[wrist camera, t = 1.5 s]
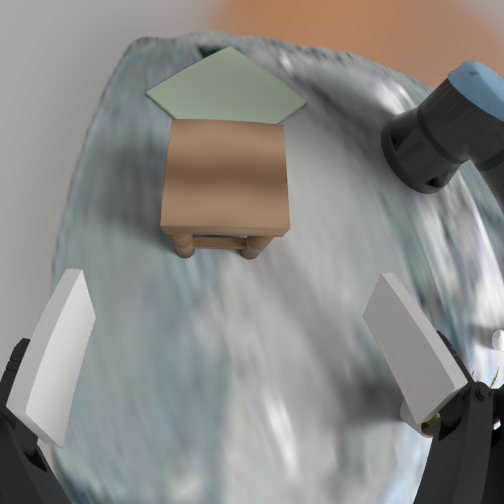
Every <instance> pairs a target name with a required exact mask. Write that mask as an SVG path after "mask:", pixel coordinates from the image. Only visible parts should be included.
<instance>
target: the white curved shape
mask: <svg viewBox="0 0 504 504" xmlns="http://www.w3.org/2000/svg"><path fill="white" fill-rule="evenodd" d="M492 346H493V347H494V348H495V349H496V350H497V351H501V352H504V331H503V330H496V331H495V332H494V334H493V337H492Z"/></svg>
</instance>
